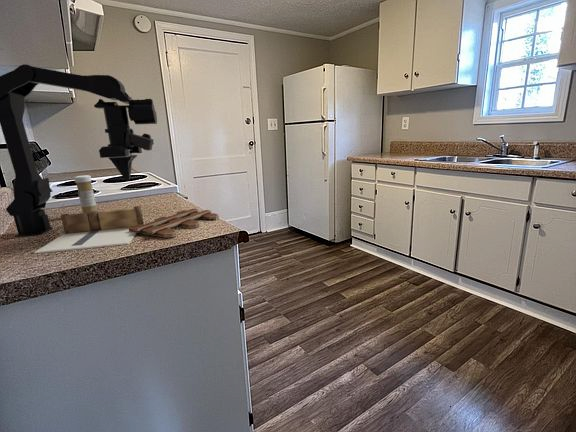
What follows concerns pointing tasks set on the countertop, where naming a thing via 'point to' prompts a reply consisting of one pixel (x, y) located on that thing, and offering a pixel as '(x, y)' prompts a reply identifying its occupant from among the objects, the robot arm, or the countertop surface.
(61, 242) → the card
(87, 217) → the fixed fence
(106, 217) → the gate panel
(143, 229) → the decorative fence
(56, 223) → the countertop surface
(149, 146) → the robot arm
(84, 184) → the sprinkles bottle
